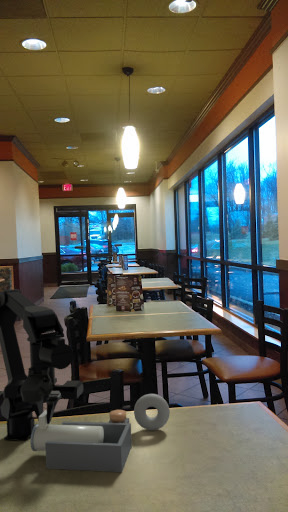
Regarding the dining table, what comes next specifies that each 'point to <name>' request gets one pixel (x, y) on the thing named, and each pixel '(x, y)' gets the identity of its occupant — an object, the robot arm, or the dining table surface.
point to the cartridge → (63, 433)
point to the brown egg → (117, 416)
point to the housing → (92, 449)
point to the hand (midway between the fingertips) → (45, 423)
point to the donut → (147, 421)
